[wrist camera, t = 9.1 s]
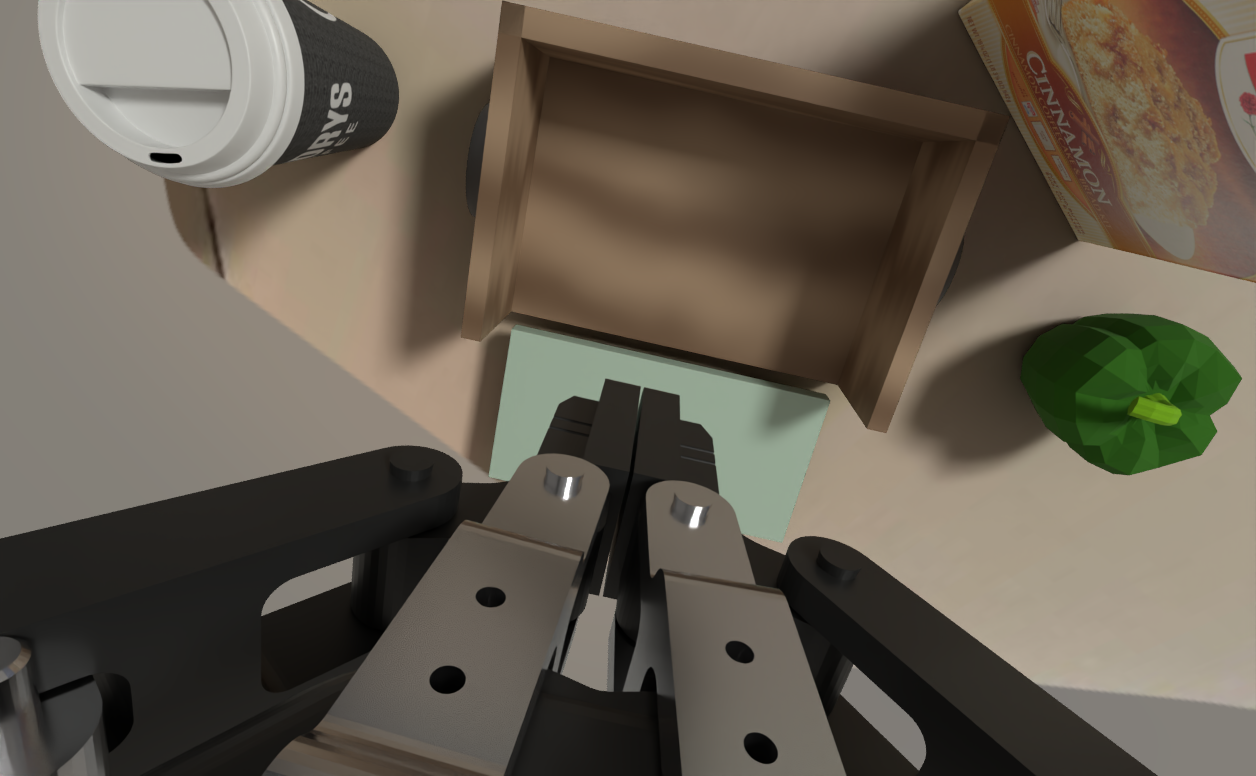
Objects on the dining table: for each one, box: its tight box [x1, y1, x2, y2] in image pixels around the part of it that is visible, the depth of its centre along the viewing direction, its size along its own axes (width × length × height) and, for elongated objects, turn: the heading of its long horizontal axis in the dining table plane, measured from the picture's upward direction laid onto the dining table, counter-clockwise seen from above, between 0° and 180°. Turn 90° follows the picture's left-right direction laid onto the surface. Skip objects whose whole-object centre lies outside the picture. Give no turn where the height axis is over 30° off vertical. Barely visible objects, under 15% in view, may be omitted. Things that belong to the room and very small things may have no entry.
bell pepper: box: [1020, 314, 1242, 475], centre depth 35 cm, size 8×8×10 cm
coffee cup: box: [38, 0, 399, 188], centre depth 31 cm, size 10×10×15 cm
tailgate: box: [489, 324, 830, 543], centre depth 41 cm, size 2×19×10 cm
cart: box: [461, 1, 1010, 433], centre depth 34 cm, size 15×25×9 cm, turn 78°
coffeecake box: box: [959, 0, 1256, 283], centre depth 26 cm, size 15×7×20 cm, turn 36°
